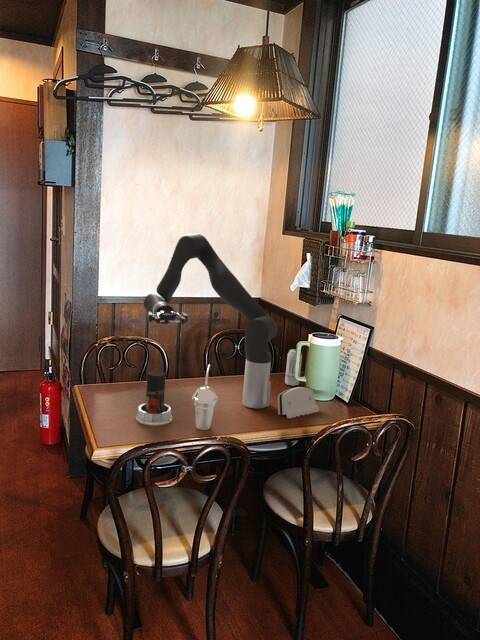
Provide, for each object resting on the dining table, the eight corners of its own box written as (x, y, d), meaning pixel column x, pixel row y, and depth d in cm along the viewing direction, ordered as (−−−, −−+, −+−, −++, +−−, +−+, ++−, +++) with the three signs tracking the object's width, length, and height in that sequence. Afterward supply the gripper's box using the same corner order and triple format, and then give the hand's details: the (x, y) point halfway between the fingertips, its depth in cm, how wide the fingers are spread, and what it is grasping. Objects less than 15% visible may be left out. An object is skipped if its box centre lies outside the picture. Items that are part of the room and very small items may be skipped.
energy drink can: (284, 386, 227) (287, 351, 224) (285, 382, 233) (288, 348, 230) (298, 388, 226) (302, 353, 223) (299, 383, 232) (302, 350, 229)
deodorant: (166, 416, 182) (169, 373, 179) (154, 421, 177) (157, 377, 174) (153, 411, 185) (155, 369, 182) (141, 416, 180) (143, 373, 177)
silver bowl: (168, 411, 188) (169, 401, 188) (175, 425, 177) (176, 414, 177) (133, 412, 185) (134, 402, 184) (138, 426, 174) (138, 415, 173)
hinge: (287, 418, 191) (283, 390, 191) (278, 418, 194) (274, 391, 195) (319, 411, 201) (316, 384, 202) (310, 411, 205) (307, 384, 206)
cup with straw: (184, 427, 176) (188, 368, 172) (201, 419, 184) (204, 362, 180) (206, 434, 172) (210, 374, 168) (221, 426, 179) (226, 368, 175)
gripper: (145, 302, 204) (151, 310, 189) (182, 303, 209) (191, 311, 194) (144, 321, 206) (150, 331, 191) (181, 322, 210) (190, 331, 195)
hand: (171, 321), depth 192 cm, fingers open, 8 cm apart
